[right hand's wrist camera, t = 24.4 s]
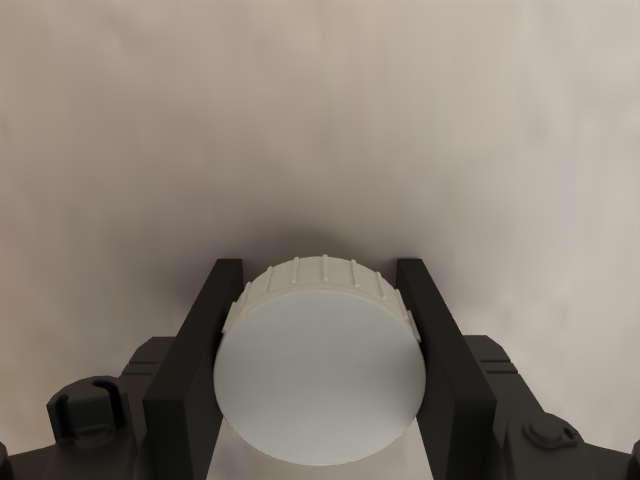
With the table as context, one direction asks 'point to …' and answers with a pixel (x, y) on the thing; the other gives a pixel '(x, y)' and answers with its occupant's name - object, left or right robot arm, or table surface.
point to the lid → (319, 363)
